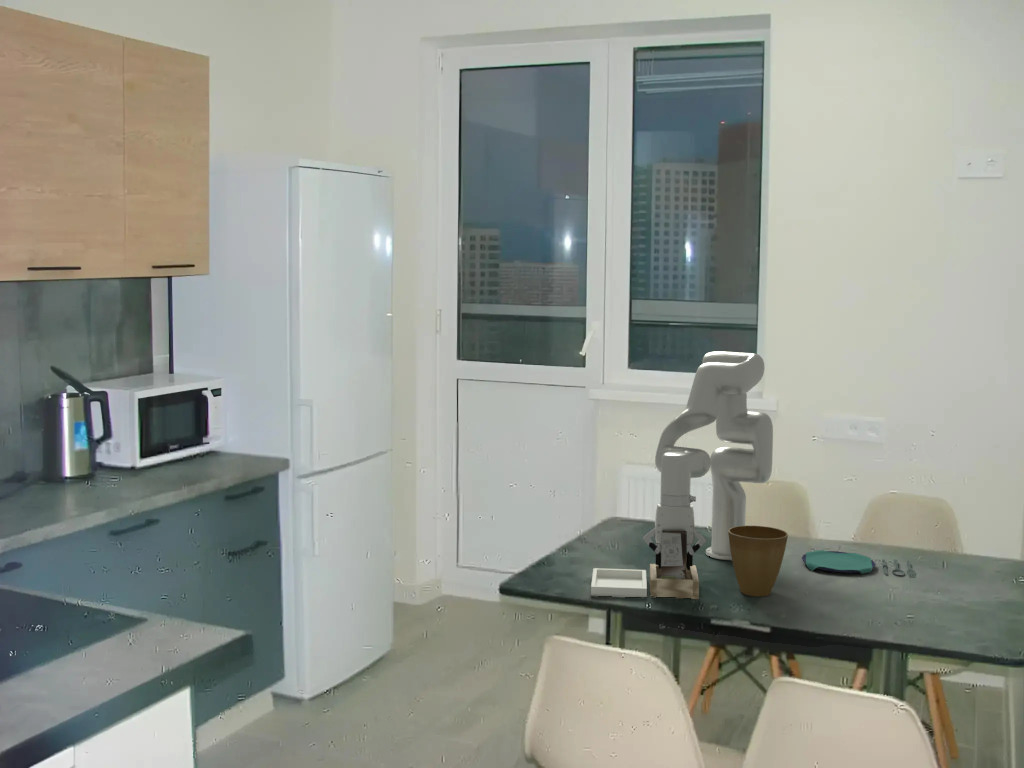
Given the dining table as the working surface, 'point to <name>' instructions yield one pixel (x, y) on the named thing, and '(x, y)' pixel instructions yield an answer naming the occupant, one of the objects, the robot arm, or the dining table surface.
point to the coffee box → (674, 555)
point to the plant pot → (757, 557)
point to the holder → (674, 584)
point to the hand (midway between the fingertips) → (673, 567)
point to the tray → (619, 583)
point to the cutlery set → (846, 562)
